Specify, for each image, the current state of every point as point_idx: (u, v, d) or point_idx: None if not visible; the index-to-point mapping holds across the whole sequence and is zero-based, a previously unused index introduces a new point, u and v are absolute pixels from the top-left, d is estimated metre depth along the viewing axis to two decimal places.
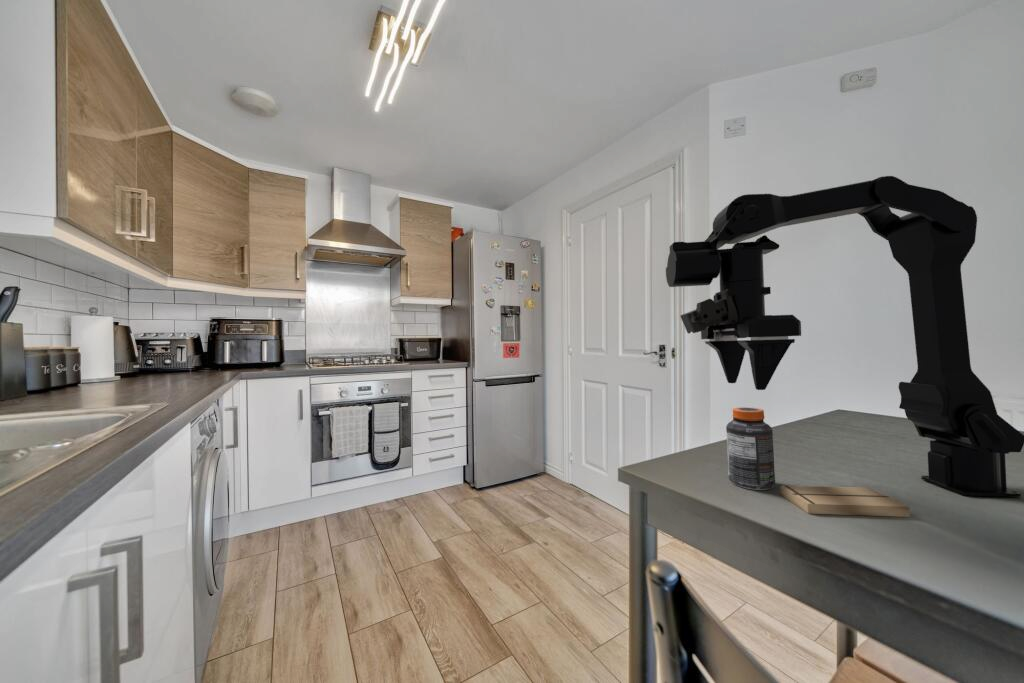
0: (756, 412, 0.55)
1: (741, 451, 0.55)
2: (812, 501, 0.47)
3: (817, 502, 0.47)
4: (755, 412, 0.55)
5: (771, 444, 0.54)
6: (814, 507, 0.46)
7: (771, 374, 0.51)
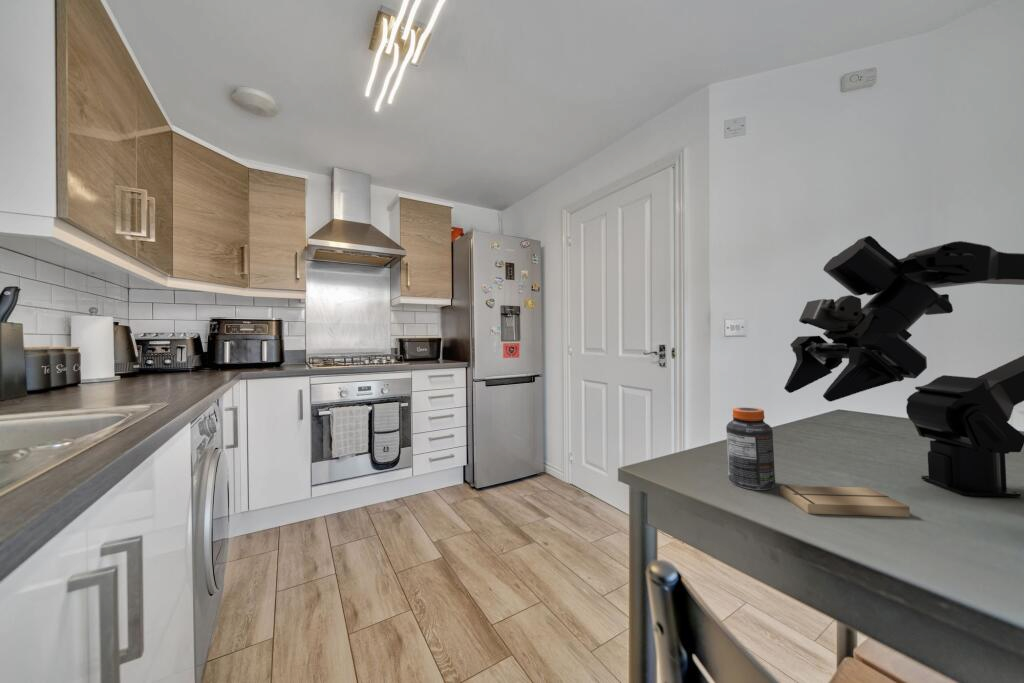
0: (756, 412, 0.55)
1: (741, 451, 0.55)
2: (812, 501, 0.47)
3: (817, 502, 0.47)
4: (755, 412, 0.55)
5: (771, 444, 0.54)
6: (814, 507, 0.46)
7: (849, 393, 0.50)
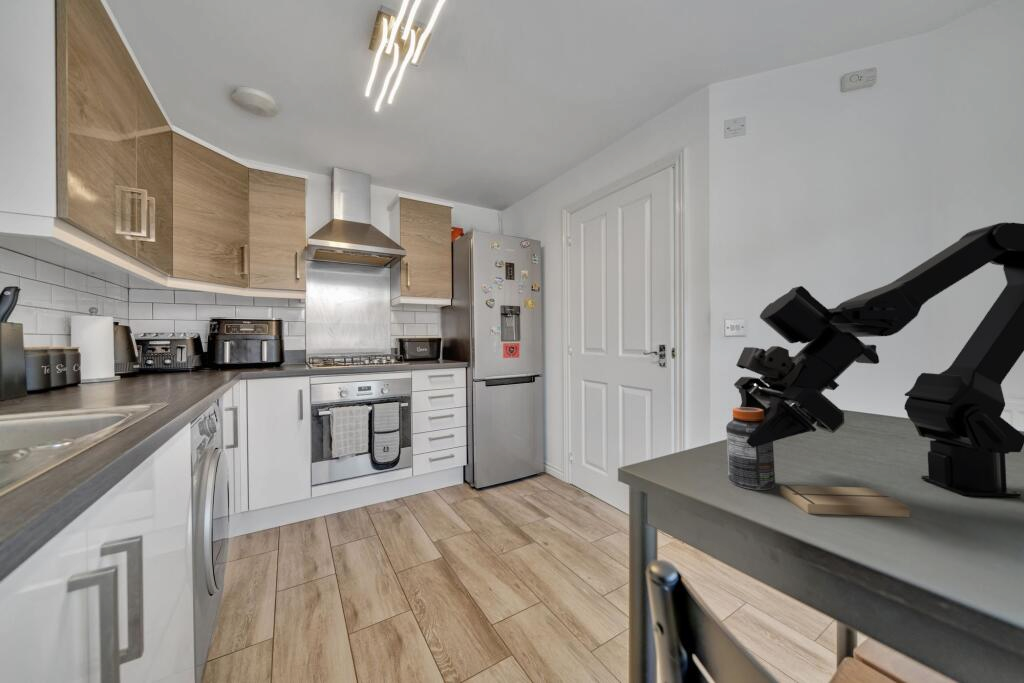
0: (756, 412, 0.55)
1: (741, 451, 0.55)
2: (812, 501, 0.47)
3: (817, 502, 0.47)
4: (755, 412, 0.55)
5: (771, 444, 0.54)
6: (814, 507, 0.46)
7: (769, 440, 0.52)
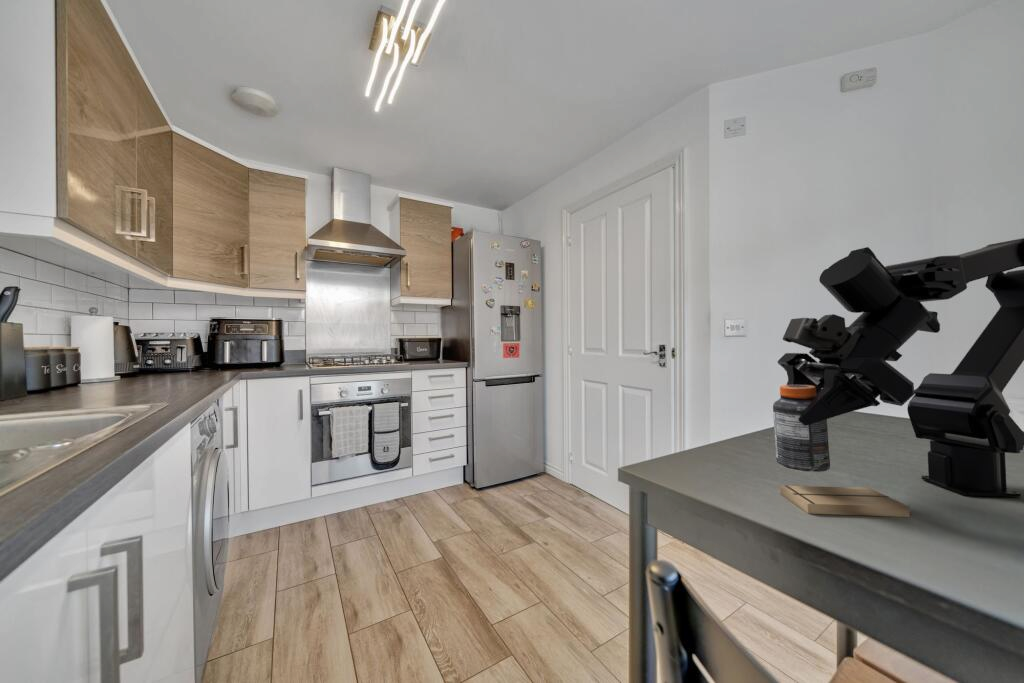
0: (808, 389, 0.50)
1: (792, 431, 0.50)
2: (812, 501, 0.47)
3: (817, 502, 0.47)
4: (806, 389, 0.50)
5: (825, 423, 0.50)
6: (814, 507, 0.46)
7: (825, 417, 0.48)
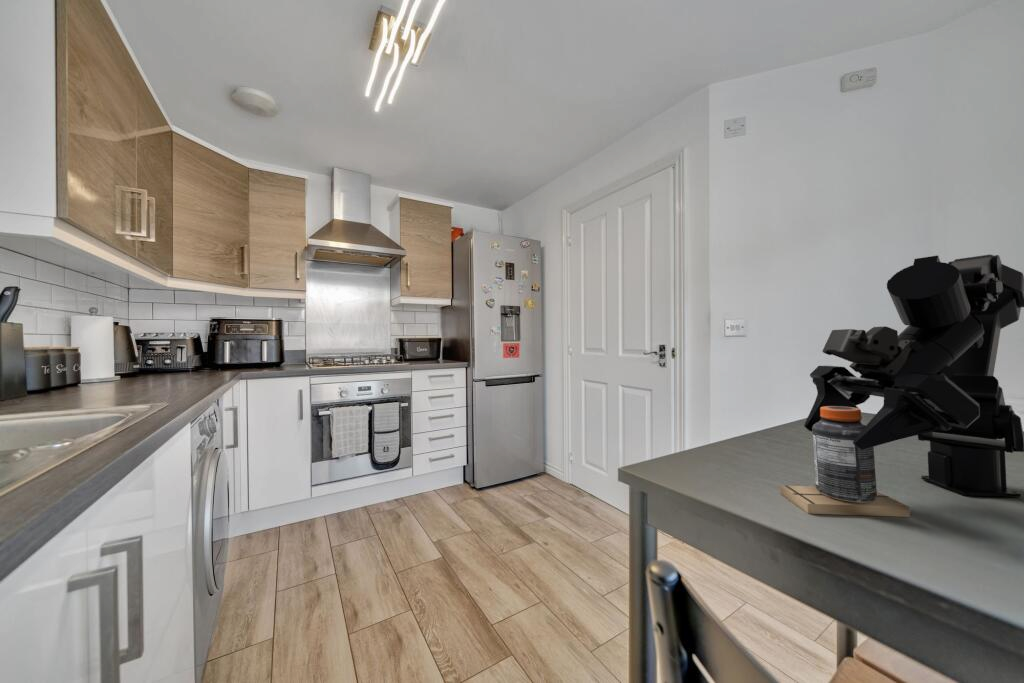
0: (853, 411, 0.47)
1: (836, 457, 0.47)
2: (812, 501, 0.47)
3: (817, 502, 0.47)
4: (852, 411, 0.47)
5: (872, 449, 0.46)
6: (814, 507, 0.46)
7: (884, 441, 0.43)
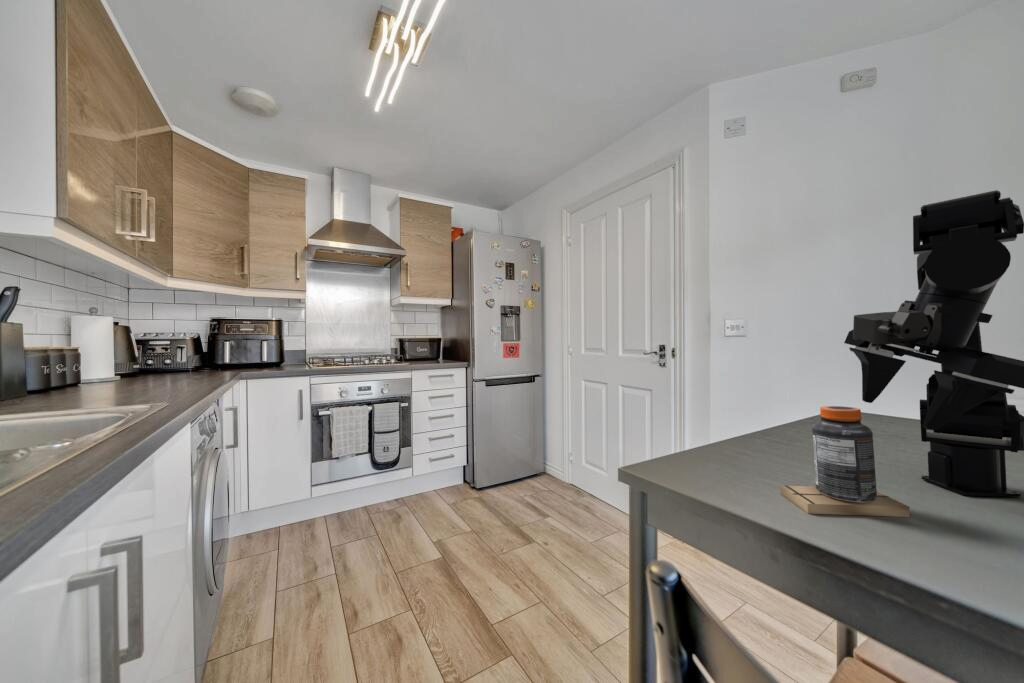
0: (853, 411, 0.47)
1: (836, 457, 0.47)
2: (812, 501, 0.47)
3: (817, 502, 0.47)
4: (852, 411, 0.47)
5: (872, 449, 0.46)
6: (814, 507, 0.46)
7: (953, 417, 0.44)
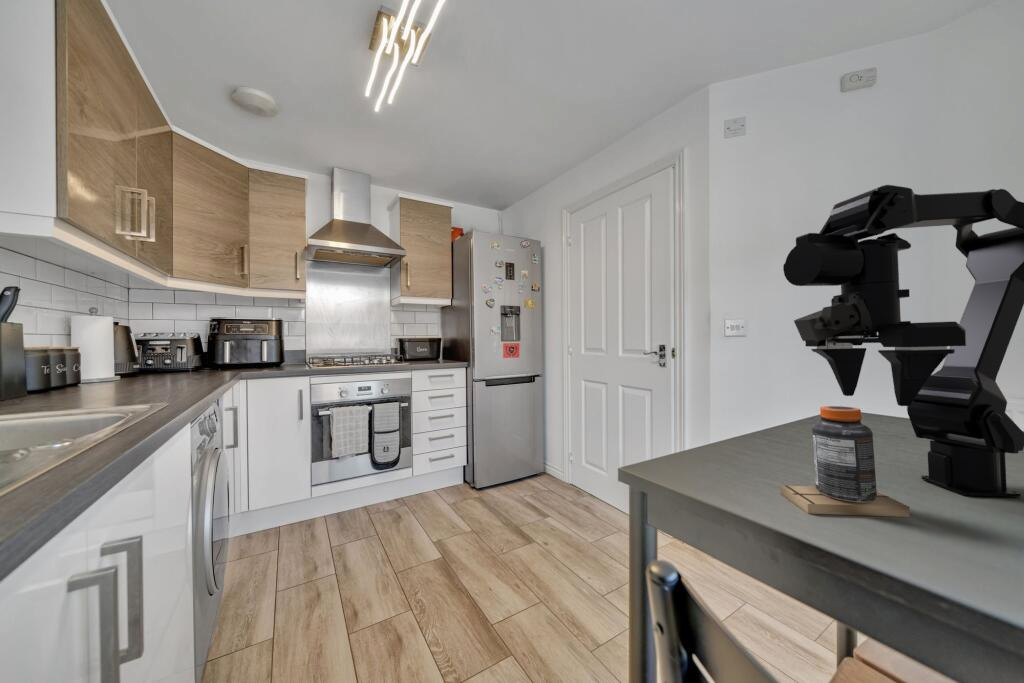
0: (853, 411, 0.47)
1: (836, 457, 0.47)
2: (812, 501, 0.47)
3: (817, 502, 0.47)
4: (852, 411, 0.47)
5: (872, 449, 0.46)
6: (814, 507, 0.46)
7: (919, 388, 0.45)
